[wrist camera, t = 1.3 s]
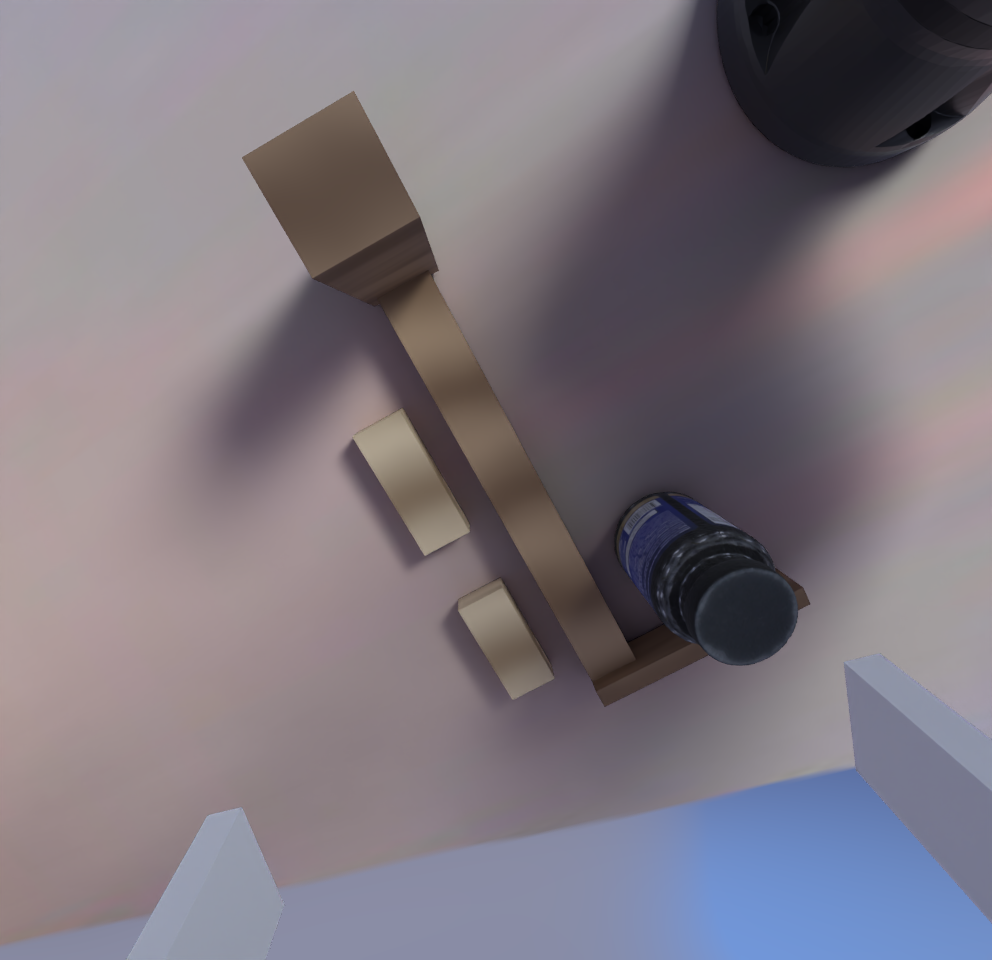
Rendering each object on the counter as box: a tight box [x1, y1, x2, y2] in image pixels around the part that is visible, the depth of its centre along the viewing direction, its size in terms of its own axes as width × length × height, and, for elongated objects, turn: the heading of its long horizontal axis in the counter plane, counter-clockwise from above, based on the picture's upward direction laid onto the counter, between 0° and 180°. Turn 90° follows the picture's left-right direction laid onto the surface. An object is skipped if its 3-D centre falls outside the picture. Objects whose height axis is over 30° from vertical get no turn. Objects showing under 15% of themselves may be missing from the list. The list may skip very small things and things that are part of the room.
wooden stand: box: [242, 91, 810, 707], centre depth 27 cm, size 31×14×13 cm, turn 28°
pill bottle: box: [615, 492, 798, 666], centre depth 30 cm, size 6×6×11 cm
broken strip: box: [353, 408, 555, 700], centre depth 34 cm, size 19×3×2 cm, turn 28°
